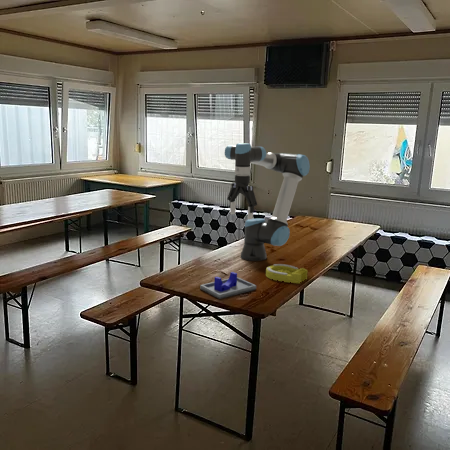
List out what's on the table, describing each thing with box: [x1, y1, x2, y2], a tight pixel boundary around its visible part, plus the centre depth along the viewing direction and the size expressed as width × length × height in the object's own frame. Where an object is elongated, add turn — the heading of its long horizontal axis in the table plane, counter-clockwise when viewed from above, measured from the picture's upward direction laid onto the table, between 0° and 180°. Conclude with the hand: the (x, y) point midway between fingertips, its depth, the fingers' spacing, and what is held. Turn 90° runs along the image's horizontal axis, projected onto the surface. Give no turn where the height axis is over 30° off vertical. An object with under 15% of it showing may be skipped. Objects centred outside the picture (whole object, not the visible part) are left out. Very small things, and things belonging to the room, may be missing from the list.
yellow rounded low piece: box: [265, 263, 308, 284], centre depth 235 cm, size 16×21×5 cm
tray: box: [199, 276, 257, 300], centre depth 215 cm, size 22×15×2 cm
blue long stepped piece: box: [213, 271, 238, 292], centre depth 214 cm, size 12×4×6 cm, turn 135°
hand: (241, 216), depth 231 cm, fingers open, 13 cm apart
